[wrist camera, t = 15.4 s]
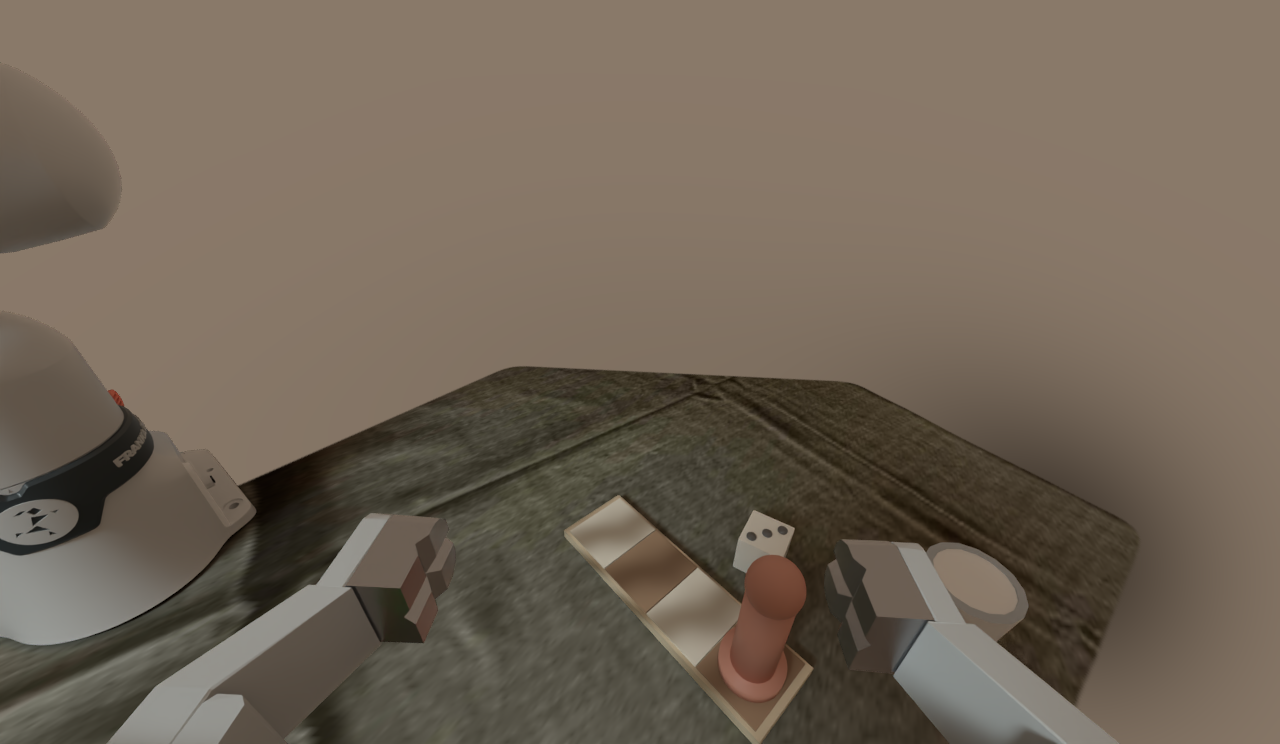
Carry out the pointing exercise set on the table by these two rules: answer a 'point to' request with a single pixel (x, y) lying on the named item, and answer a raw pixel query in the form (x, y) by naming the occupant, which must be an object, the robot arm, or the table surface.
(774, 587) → the pawn
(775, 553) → the die
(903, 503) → the table surface
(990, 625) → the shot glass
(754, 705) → the board
